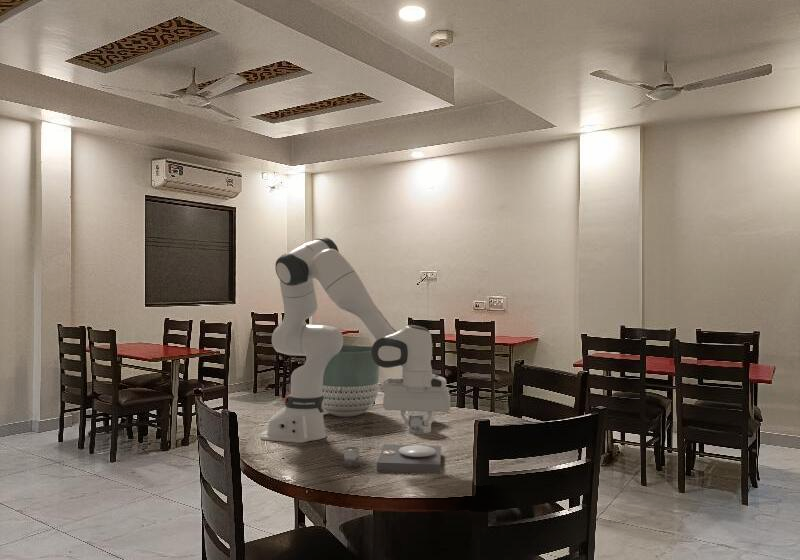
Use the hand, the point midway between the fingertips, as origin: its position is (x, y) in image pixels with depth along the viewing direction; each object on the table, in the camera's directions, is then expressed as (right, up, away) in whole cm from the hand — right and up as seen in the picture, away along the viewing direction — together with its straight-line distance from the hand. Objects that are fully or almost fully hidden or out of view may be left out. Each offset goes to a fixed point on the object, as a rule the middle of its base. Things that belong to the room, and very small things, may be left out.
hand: (416, 425), depth 187 cm
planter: (-27, -11, +67) cm, 73 cm away
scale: (-2, -11, +1) cm, 11 cm away
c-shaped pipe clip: (+3, -12, +50) cm, 51 cm away
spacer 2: (0, -2, 0) cm, 2 cm away
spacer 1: (-19, -11, -4) cm, 22 cm away
